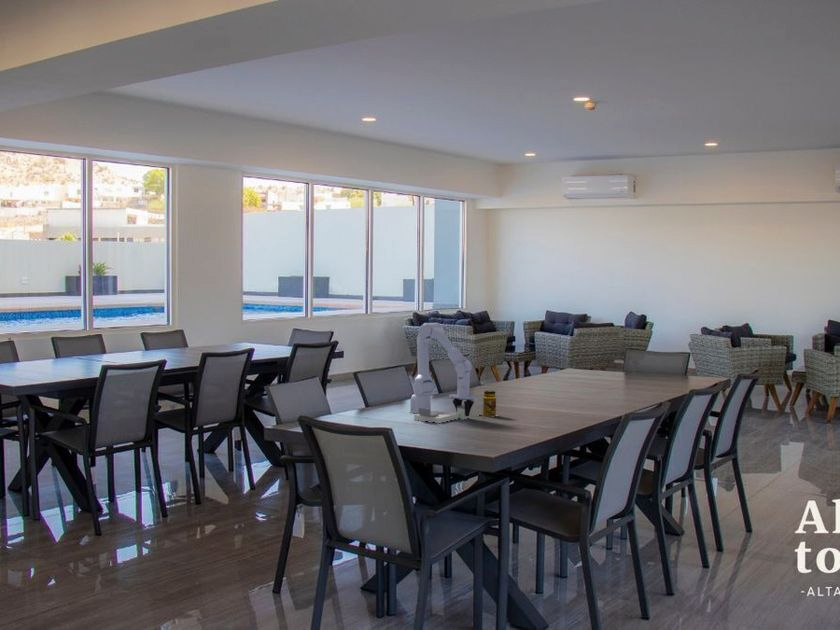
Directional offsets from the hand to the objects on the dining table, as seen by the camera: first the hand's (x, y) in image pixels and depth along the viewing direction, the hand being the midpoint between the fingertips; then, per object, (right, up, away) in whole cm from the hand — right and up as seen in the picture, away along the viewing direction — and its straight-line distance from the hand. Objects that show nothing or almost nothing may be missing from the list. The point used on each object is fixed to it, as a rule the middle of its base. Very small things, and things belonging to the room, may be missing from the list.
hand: (463, 415), depth 393 cm
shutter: (-16, +1, -9) cm, 18 cm away
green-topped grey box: (0, -1, 0) cm, 1 cm away
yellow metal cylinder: (+12, -1, +8) cm, 15 cm away
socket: (-12, -1, -3) cm, 13 cm away
